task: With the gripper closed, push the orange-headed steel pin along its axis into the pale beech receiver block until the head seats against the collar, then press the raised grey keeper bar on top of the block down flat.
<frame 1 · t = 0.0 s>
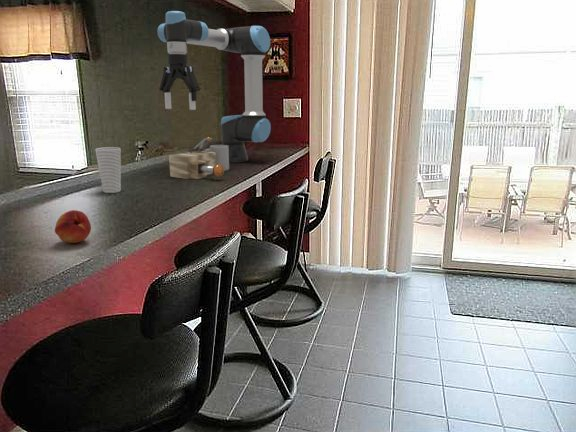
hand: (180, 109, 189), 28 cm above the breakfast bar, fingers open, 13 cm apart
cup: (112, 191, 169), on the breakfast bar
fruit: (74, 243, 112), on the breakfast bar
mug: (216, 169, 216), on the breakfast bar
receiver block: (193, 174, 203), on the breakfast bar
keeper: (202, 144, 204), point 13 cm above the breakfast bar, hinge at 35.0°
pin: (204, 168, 193), point 4 cm above the breakfast bar, slide at 8.0 cm
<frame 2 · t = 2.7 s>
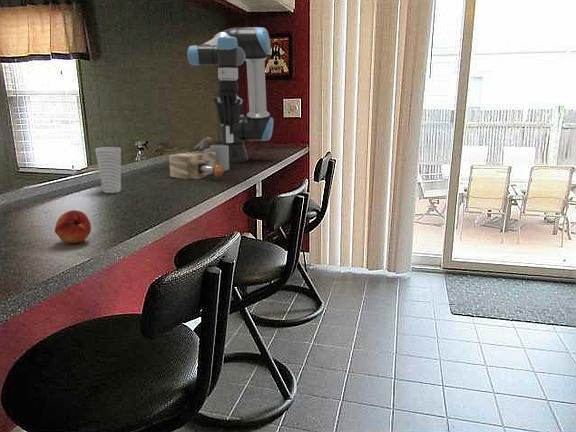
hand: (229, 142, 183), 16 cm above the breakfast bar, fingers closed
nothing on the breakfast bar moved.
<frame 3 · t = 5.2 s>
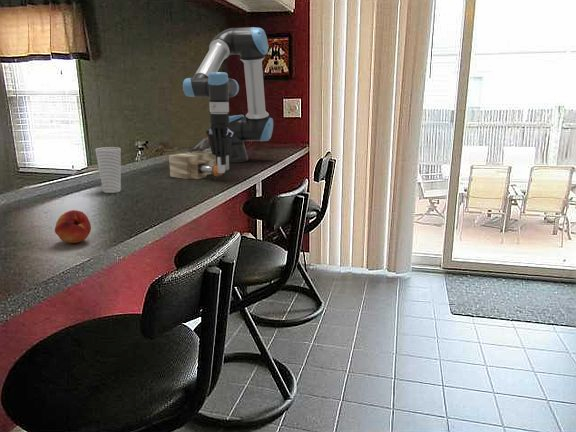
hand: (221, 172, 189), 3 cm above the breakfast bar, fingers closed
pin: (204, 168, 193), point 4 cm above the breakfast bar, slide at 7.6 cm, touching gripper
everything else where it was.
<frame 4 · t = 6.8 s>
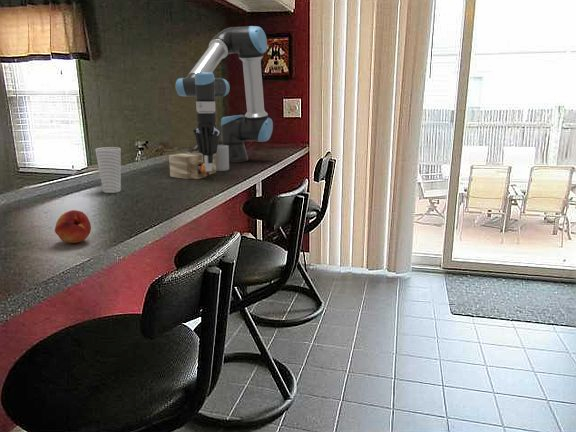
hand: (208, 170, 192), 3 cm above the breakfast bar, fingers closed
pin: (192, 167, 197), point 4 cm above the breakfast bar, slide at 0.7 cm, touching gripper
everything else where it was.
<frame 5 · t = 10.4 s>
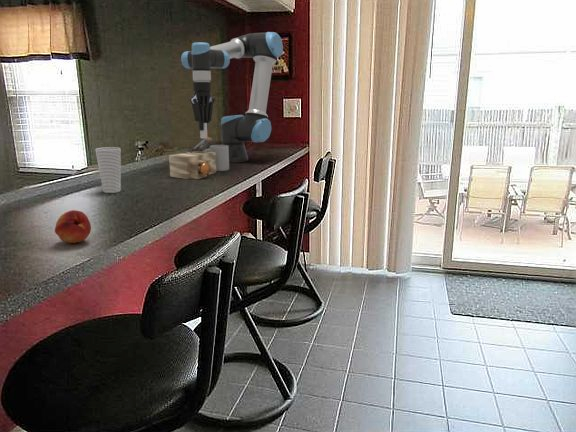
hand: (203, 138, 202), 15 cm above the breakfast bar, fingers closed
keeper: (202, 144, 204), point 13 cm above the breakfast bar, hinge at 35.0°, touching gripper
pin: (192, 167, 197), point 4 cm above the breakfast bar, slide at 0.7 cm
everything else where it was.
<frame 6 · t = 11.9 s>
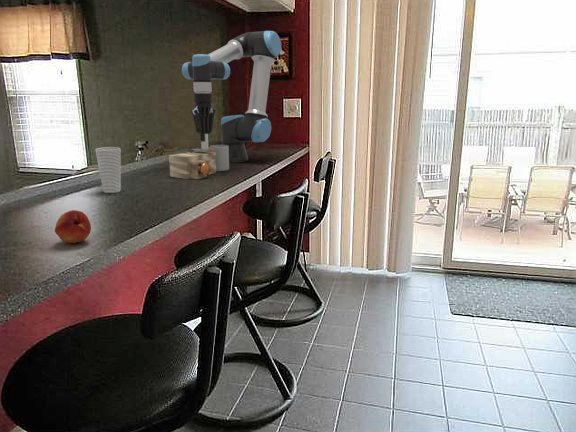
hand: (205, 148, 203), 11 cm above the breakfast bar, fingers closed
keeper: (203, 149, 204), point 10 cm above the breakfast bar, hinge at 5.6°, touching gripper
everything else where it was.
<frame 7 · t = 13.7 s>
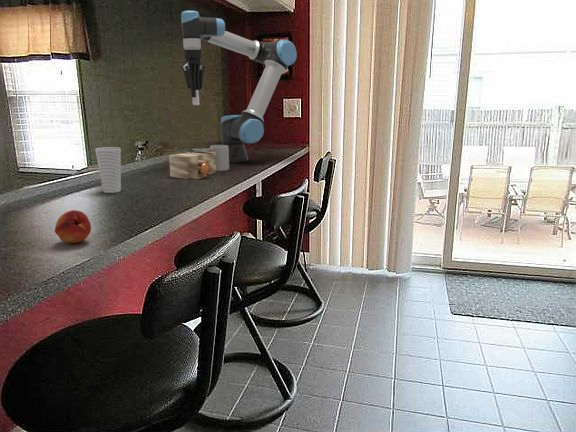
hand: (196, 104, 210), 29 cm above the breakfast bar, fingers closed
keeper: (203, 149, 204), point 10 cm above the breakfast bar, hinge at 5.6°
everything else where it was.
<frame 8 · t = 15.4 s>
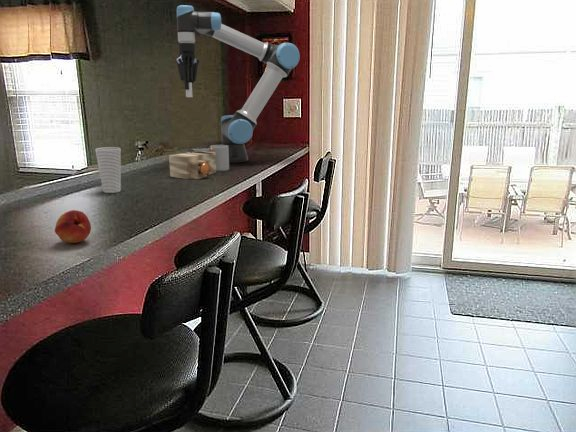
hand: (189, 97, 216), 32 cm above the breakfast bar, fingers closed
nothing on the breakfast bar moved.
at the end: pin slide at 0.7 cm; keeper at +6° (first picture: +35°) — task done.
